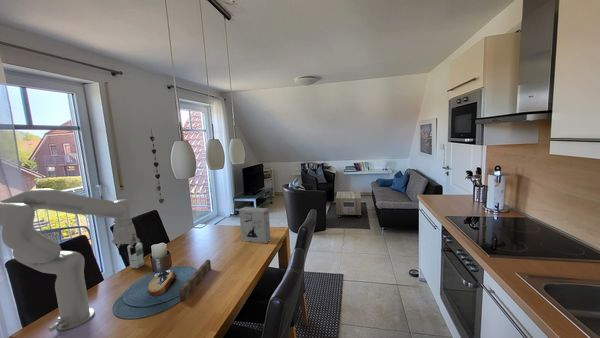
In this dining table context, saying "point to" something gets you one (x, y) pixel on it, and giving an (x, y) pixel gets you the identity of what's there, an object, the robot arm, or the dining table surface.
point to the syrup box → (136, 256)
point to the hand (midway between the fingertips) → (127, 253)
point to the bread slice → (157, 288)
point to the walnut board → (194, 280)
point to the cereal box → (255, 224)
